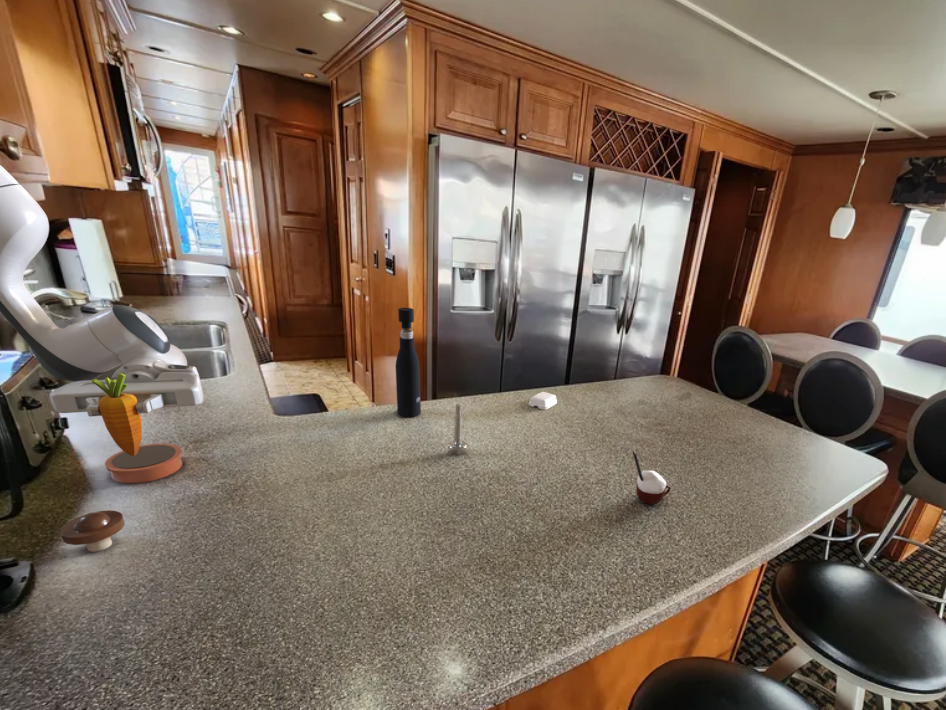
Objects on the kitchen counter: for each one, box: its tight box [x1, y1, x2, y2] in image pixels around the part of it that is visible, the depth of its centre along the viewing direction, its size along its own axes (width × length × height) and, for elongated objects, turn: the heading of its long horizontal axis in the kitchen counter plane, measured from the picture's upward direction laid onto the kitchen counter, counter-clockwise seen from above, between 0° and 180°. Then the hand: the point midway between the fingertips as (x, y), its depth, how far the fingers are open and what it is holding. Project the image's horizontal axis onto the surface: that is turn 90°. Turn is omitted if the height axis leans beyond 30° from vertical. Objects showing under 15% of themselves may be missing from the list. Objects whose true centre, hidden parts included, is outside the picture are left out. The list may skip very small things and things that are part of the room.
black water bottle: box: [395, 307, 422, 419], centre depth 127 cm, size 6×6×30 cm
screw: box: [447, 403, 469, 456], centre depth 111 cm, size 13×5×5 cm
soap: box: [528, 391, 558, 410], centre depth 149 cm, size 9×7×3 cm
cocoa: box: [632, 450, 671, 505], centre depth 99 cm, size 10×6×12 cm, turn 77°
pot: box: [104, 443, 183, 484], centre depth 93 cm, size 12×12×3 cm
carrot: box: [92, 373, 143, 456], centre depth 78 cm, size 5×5×15 cm
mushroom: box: [59, 510, 126, 553], centre depth 72 cm, size 7×7×6 cm
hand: (118, 410), depth 76 cm, fingers closed on carrot, 5 cm apart
